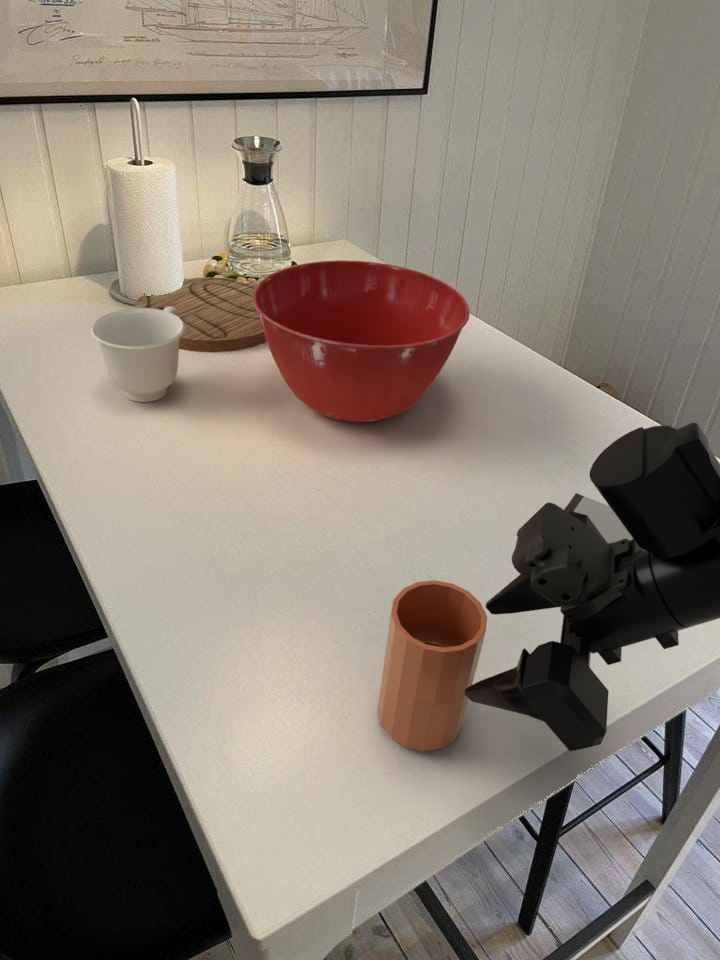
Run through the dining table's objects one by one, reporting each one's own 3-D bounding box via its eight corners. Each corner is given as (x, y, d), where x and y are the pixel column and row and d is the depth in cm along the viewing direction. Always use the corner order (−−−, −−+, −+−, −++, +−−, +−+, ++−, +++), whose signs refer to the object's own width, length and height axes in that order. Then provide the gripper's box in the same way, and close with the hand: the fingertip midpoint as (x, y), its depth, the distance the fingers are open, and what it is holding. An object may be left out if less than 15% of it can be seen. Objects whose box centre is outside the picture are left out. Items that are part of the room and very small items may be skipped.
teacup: (215, 374, 111) (212, 311, 105) (158, 423, 99) (151, 355, 93) (145, 356, 114) (138, 293, 108) (82, 401, 102) (70, 333, 96)
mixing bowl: (294, 339, 122) (296, 245, 113) (468, 373, 117) (484, 277, 107) (221, 427, 100) (216, 319, 91) (431, 473, 95) (448, 364, 85)
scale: (670, 545, 87) (678, 527, 85) (642, 607, 78) (650, 588, 77) (571, 505, 91) (577, 487, 90) (534, 559, 83) (540, 540, 81)
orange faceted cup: (475, 709, 67) (501, 606, 59) (436, 770, 61) (460, 667, 54) (403, 670, 69) (420, 567, 62) (361, 725, 64) (373, 621, 57)
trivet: (211, 367, 112) (211, 356, 111) (103, 316, 123) (101, 305, 122) (317, 317, 129) (318, 307, 128) (213, 276, 140) (213, 266, 139)
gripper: (612, 424, 55) (443, 505, 64) (599, 597, 40) (382, 671, 49) (687, 533, 58) (517, 596, 67) (701, 729, 43) (480, 777, 52)
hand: (478, 649), depth 59 cm, fingers open, 9 cm apart
